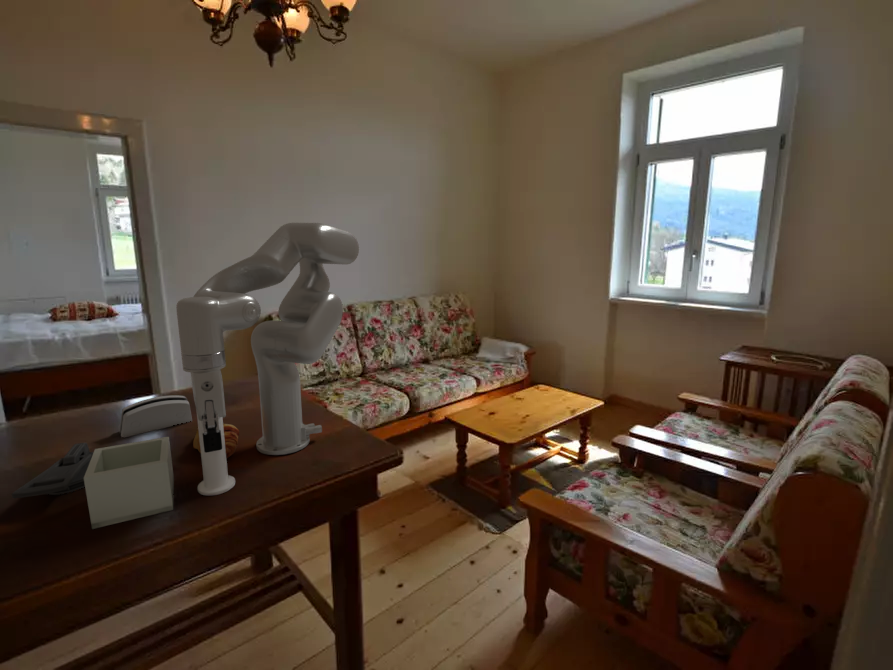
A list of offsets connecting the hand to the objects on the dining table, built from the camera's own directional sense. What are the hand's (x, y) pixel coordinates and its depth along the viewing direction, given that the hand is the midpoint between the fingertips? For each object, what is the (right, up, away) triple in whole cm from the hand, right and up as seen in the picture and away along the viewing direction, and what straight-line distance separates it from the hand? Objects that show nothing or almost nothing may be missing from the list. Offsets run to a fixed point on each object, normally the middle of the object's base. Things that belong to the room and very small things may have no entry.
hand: (212, 445), depth 93 cm
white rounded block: (-30, -3, +30) cm, 43 cm away
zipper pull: (-30, -9, 0) cm, 32 cm away
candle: (0, -9, +2) cm, 9 cm away
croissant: (-9, -6, +20) cm, 22 cm away
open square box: (-13, -10, -4) cm, 17 cm away
